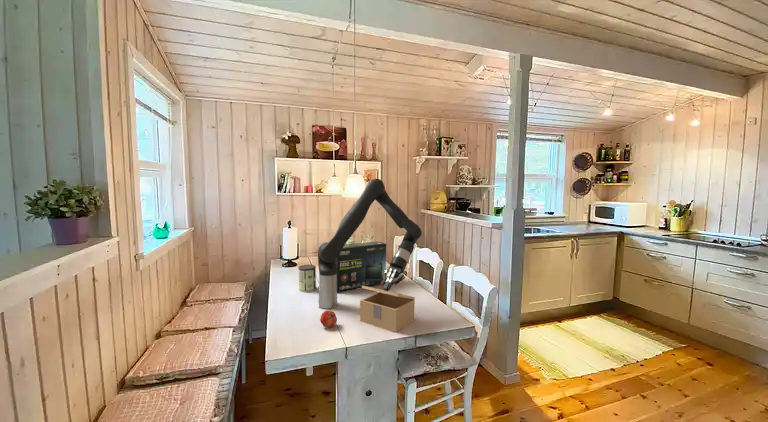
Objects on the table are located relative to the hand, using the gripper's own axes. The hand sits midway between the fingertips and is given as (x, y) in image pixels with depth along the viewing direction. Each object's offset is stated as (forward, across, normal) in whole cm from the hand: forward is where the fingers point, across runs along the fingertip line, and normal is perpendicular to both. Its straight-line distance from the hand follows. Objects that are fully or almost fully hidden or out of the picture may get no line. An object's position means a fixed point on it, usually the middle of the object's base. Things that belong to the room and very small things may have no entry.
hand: (385, 290), depth 151 cm
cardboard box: (+9, 0, +12) cm, 15 cm away
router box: (-14, -44, +34) cm, 57 cm away
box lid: (0, 0, +3) cm, 3 cm away
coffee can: (+3, -65, +18) cm, 68 cm away
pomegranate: (+24, -18, -2) cm, 30 cm away
